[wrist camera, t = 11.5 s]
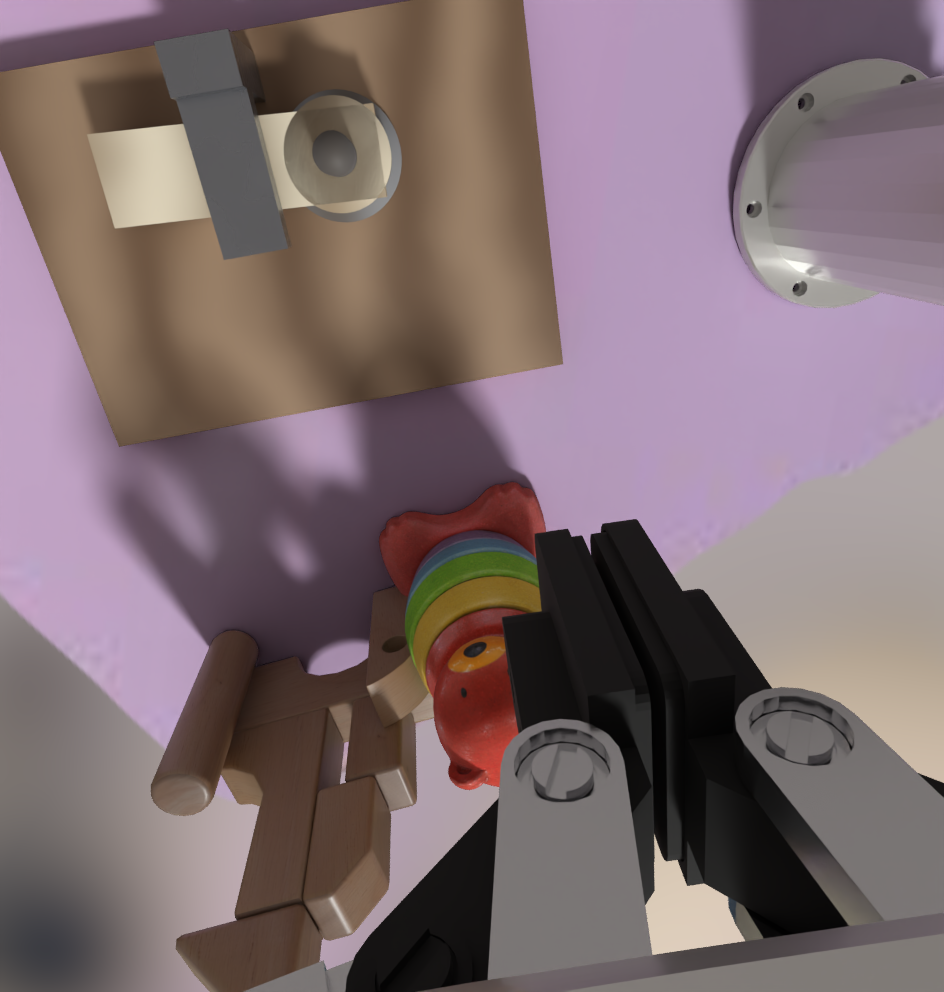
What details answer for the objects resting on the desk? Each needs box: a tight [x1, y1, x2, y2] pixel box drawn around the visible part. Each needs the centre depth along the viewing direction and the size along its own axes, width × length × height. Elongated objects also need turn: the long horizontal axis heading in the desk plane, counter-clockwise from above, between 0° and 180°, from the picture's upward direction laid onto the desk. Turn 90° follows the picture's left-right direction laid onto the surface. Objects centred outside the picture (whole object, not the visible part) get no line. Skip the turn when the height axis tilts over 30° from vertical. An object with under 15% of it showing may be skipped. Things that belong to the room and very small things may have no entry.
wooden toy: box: [151, 586, 434, 992], centre depth 37 cm, size 15×7×25 cm, turn 105°
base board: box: [0, 0, 563, 447], centre depth 37 cm, size 26×18×2 cm
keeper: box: [154, 29, 292, 260], centre depth 32 cm, size 3×8×6 cm, turn 9°
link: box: [87, 95, 392, 228], centre depth 32 cm, size 14×5×4 cm, turn 96°
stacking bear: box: [379, 482, 546, 790], centre depth 38 cm, size 11×10×18 cm
